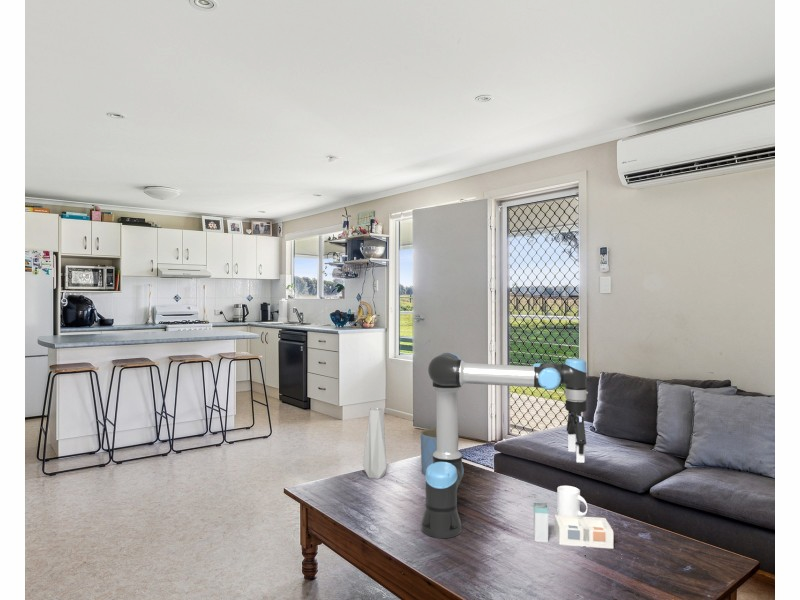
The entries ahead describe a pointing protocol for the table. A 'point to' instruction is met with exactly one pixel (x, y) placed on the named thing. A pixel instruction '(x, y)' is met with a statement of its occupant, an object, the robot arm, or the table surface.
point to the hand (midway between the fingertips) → (575, 456)
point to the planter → (428, 447)
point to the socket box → (583, 531)
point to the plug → (540, 522)
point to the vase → (375, 445)
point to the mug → (569, 501)
